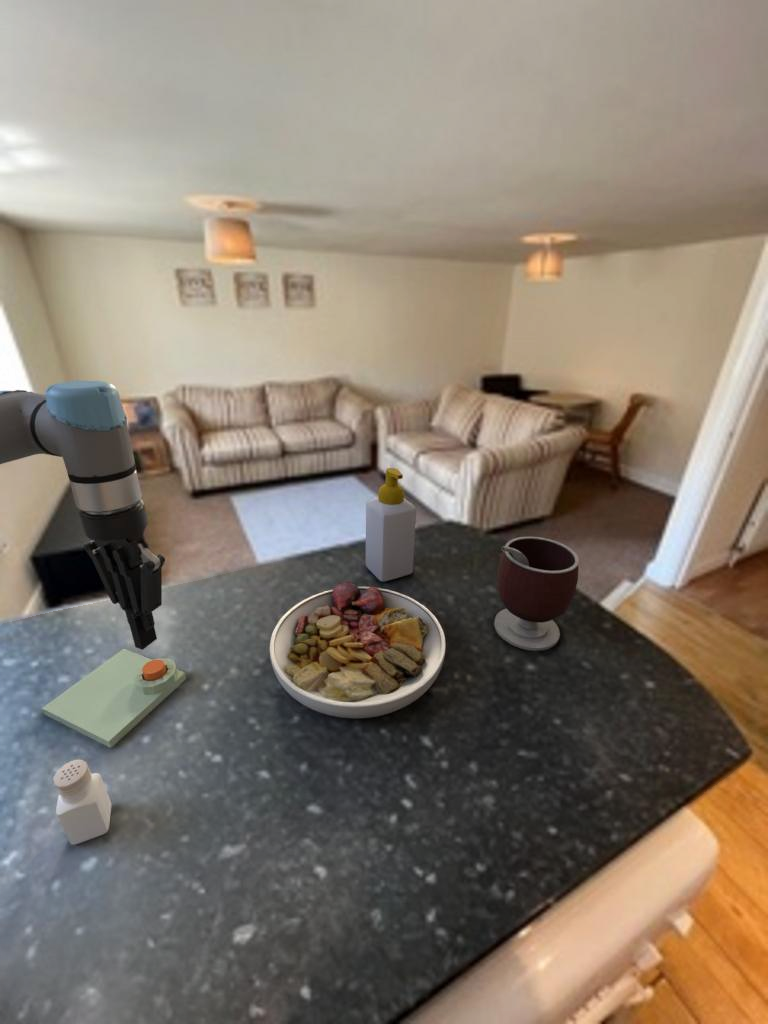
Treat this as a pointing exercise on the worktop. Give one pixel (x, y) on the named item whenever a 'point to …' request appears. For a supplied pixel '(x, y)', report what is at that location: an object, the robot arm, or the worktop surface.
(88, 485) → the robot arm
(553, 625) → the mate gourd
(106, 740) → the scale
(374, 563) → the soap bottle
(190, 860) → the worktop surface
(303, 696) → the bowl
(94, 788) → the pepper shaker
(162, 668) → the button
